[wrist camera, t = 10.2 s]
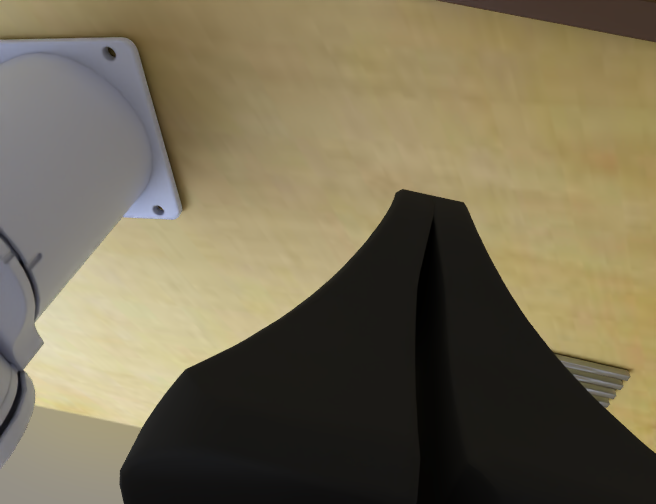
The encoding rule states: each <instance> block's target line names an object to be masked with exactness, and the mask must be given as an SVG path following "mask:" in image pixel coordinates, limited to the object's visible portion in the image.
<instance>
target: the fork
mask: <svg viewBox="0 0 656 504" xmlns="http://www.w3.org/2000/svg"><path fill="white" fill-rule="evenodd" d="M555 355H556V356H557V358H558V359H559V360H560V361H561V362H562V363H563V365H564V366H565V367H566V368H567V369H568V370H569V371H570V372H571V373H572V374H573V375H574V377H575V378H576V379H577V380H579V382H580V383H581V384H582V385H583V386H584V387H585V388H586V390H587V391H588V392H589V393H590V394H591V395H592V396H593V397H594V398H595V399H596V400H597V401H598V402H599V403H600V404H601V405H602V406H603V407H606V408H607V407H608V406H609V404H610V403H609V399H608V398H610V399H614V398H615V396H616V392H615V389H618V390H621V389H622V387H623V383H622V380H625V381H628V379H629V378H630V374H629V371H628V370H624V369H619V368H615V367H611V366H606V365H602V364H598V363H593V362H589V361H585V360H580V359H576V358H571V357H567V356H563V355H558V354H555ZM568 367H569V368H568ZM572 368H573V369H572ZM577 369H578V370H577ZM581 370H582V371H581ZM585 371H586V372H585ZM594 373H595V374H594ZM598 374H599V375H598ZM607 376H608V377H607ZM611 377H612V378H611ZM620 379H621V380H620ZM582 381H583V382H582ZM586 382H588V383H586ZM590 383H592V384H590ZM595 384H596V385H595ZM599 385H601V386H599ZM603 386H605V387H603ZM607 387H609V388H607ZM612 388H613V389H612Z"/></svg>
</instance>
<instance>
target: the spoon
mask: <svg viewBox="0 0 656 504" xmlns="http://www.w3.org/2000/svg"><path fill="white" fill-rule="evenodd" d="M437 1H443V2H448V3H453V4H458V5H464V6H469V7H474V8H479V9H484V10H490V11H495V12H500V13H505V14H511V15H516V16H521V17H526V18H532V19H537V20H542V21H547V22H552V23H558V24H563V25H568V26H573V27H579V28H584V29H589V30H594V31H600V32H605V33H610V34H615V35H621V36H626V37H631V38H636V39H641V40H647V41H652V42H656V0H437Z"/></svg>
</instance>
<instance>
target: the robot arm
mask: <svg viewBox="0 0 656 504" xmlns="http://www.w3.org/2000/svg"><path fill="white" fill-rule="evenodd" d="M108 47H110V48H112V49H113V50H114V52H115V53H116V57H113V56H112V55H110V53H109V52H108ZM157 206H160V207H162V208H163V210H164V211H163V210H160V209H159V208H158V207H157ZM181 212H182V205H181V201H180V198H179V194H178V191H177V187H176V184H175V180H174V176H173V173H172V169H171V166H170V162H169V159H168V155H167V152H166V148H165V145H164V141H163V138H162V134H161V130H160V127H159V123H158V120H157V116H156V113H155V109H154V106H153V102H152V99H151V95H150V92H149V88H148V84H147V81H146V77H145V74H144V70H143V67H142V63H141V60H140V56H139V53H138V50H137V47H136V45H135V44H134V43H133V42H132V41H131V40H129V39H128V38H124V37H101V38H56V39H10V40H0V469H1V468H2V467H3V465H4V464H5V463H6V461H7V460H8V459H9V457H10V456H11V454H12V452H13V451H14V450H15V448H16V446H17V444H18V443H19V441H20V439H21V437H22V435H23V433H24V432H25V430H26V428H27V426H28V423H29V421H30V418H31V416H32V413H33V409H34V404H35V389H34V385H33V382H32V380H31V378H30V377H29V376H28V374H27V373H26V372H25V371H24V370H23V369H24V368H25V367H26V366H27V364H28V363H29V362H30V360H31V359H32V358H33V357H34V355H35V354H36V353H37V352H38V350H39V349H40V348H41V346H42V345H43V344H44V342H43V340H42V338H41V337H40V336H39V334H38V332H37V330H36V328H35V324H34V323H35V322H36V320H37V319H38V318H39V317H40V316H41V314H42V313H43V312H44V311H45V310H46V308H47V307H48V306H49V305H50V304H51V302H52V301H53V300H54V299H55V298H56V296H57V295H58V294H59V293H60V292H61V290H62V289H63V288H64V287H65V286H66V284H67V283H68V282H69V281H70V280H71V278H72V277H73V276H74V275H75V273H76V272H77V271H78V270H79V269H80V267H81V266H82V265H83V264H84V263H85V261H86V260H87V259H88V258H89V257H90V255H91V254H92V253H93V252H94V251H95V249H96V248H97V247H98V246H99V245H100V243H101V242H102V241H103V240H104V239H105V237H106V236H107V235H108V234H109V233H110V231H111V230H112V229H113V228H114V227H115V225H116V224H117V223H118V222H119V221H120V219H121V218H122V217H129V218H150V219H171V220H172V219H176V218H178V217H179V216H180V214H181ZM120 488H121V492H122V497H123V501H124V504H656V453H654V452H653V451H652V450H651V449H649V448H648V447H647V446H646V445H645V444H644V443H642V442H641V441H640V440H639V439H638V438H637V437H636V436H635V435H633V434H632V433H631V432H630V431H629V430H628V429H627V428H626V427H625V426H624V425H623V424H622V423H620V422H619V421H618V420H617V419H616V418H615V417H614V416H613V415H612V414H611V413H610V412H609V411H608V410H606V409H605V408H604V407H603V406H602V405H601V404H600V403H599V402H598V401H597V400H596V399H595V398H594V397H593V396H592V395H591V394H590V393H589V392H588V391H587V390H586V388H585V387H584V386H583V385H582V384H581V383H580V382H579V381H578V380H577V379H576V378H575V377H574V375H573V374H572V373H571V372H570V371H569V370H568V369H567V368H566V367H565V366H564V365H563V363H562V362H561V361H560V360H559V359H558V358H557V356H556V355H555V354H554V353H553V352H552V351H551V349H550V348H549V347H548V346H547V344H546V343H545V342H544V341H543V339H542V338H541V337H540V335H539V334H538V333H537V331H536V330H535V329H534V328H533V326H532V325H531V324H530V322H529V321H528V320H527V318H526V317H525V315H524V314H523V313H522V311H521V310H520V308H519V306H518V305H517V303H516V302H515V300H514V299H513V297H512V295H511V294H510V292H509V291H508V289H507V287H506V285H505V284H504V282H503V280H502V279H501V277H500V275H499V273H498V271H497V269H496V268H495V266H494V264H493V262H492V260H491V258H490V257H489V255H488V253H487V251H486V249H485V247H484V244H483V242H482V240H481V238H480V236H479V234H478V232H477V230H476V227H475V225H474V223H473V220H472V218H471V216H470V213H469V211H468V209H467V207H466V205H465V204H464V202H459V201H455V200H450V199H445V198H441V197H436V196H432V195H427V194H422V193H418V192H413V191H409V190H404V189H402V190H400V191H398V192H396V193H395V197H394V200H393V202H392V204H391V206H390V208H389V210H388V212H387V213H386V215H385V216H384V218H383V219H382V221H381V223H380V224H379V225H378V227H377V228H376V229H375V230H374V232H373V233H372V234H371V236H370V237H369V238H368V240H367V241H366V242H365V243H364V245H363V246H362V247H361V248H360V249H359V250H358V251H357V252H356V253H355V255H354V256H353V257H352V258H351V259H350V260H349V261H348V262H347V263H346V264H345V265H344V266H343V267H342V268H341V269H340V270H339V271H338V272H337V273H336V274H335V275H334V276H333V277H332V278H331V279H330V280H329V281H328V282H326V283H325V284H324V285H323V286H322V287H321V288H320V289H318V290H317V291H316V292H315V293H314V294H312V295H311V296H310V297H308V298H307V299H306V300H305V301H303V302H302V303H301V304H299V305H298V306H297V307H295V308H294V309H293V310H291V311H290V312H289V313H287V314H286V315H284V316H283V317H281V318H280V319H278V320H277V321H275V322H274V323H272V324H270V325H269V326H267V327H265V328H264V329H262V330H260V331H259V332H257V333H256V334H254V335H252V336H251V337H249V338H247V339H246V340H244V341H242V342H240V343H239V344H237V345H235V346H233V347H231V348H229V349H227V350H225V351H223V352H221V353H219V354H217V355H215V356H213V357H210V358H208V359H206V360H204V361H202V362H200V363H198V364H196V365H194V366H192V367H190V368H187V369H185V371H184V372H183V373H182V374H181V375H180V376H179V378H178V379H177V380H176V381H175V382H174V384H173V385H172V386H171V387H170V389H169V390H168V391H167V392H166V394H165V395H164V396H163V398H162V399H161V400H160V402H159V403H158V405H157V406H156V407H155V409H154V410H153V412H152V413H151V415H150V416H149V418H148V419H147V421H146V422H145V424H144V426H143V427H142V429H141V431H140V433H139V435H138V437H137V439H136V441H135V443H134V445H133V446H132V449H131V450H130V452H129V454H128V456H127V458H126V460H125V462H124V464H123V466H122V468H121V470H120Z"/></svg>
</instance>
